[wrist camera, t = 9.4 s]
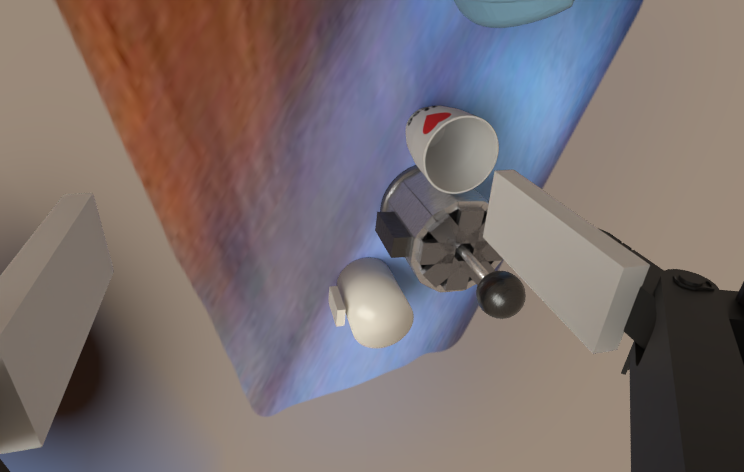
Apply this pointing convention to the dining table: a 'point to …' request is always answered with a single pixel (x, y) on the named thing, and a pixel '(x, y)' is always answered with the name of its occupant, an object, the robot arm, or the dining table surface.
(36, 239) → the robot arm
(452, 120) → the cup
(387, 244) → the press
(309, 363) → the dining table surface
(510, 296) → the plunger
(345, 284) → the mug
